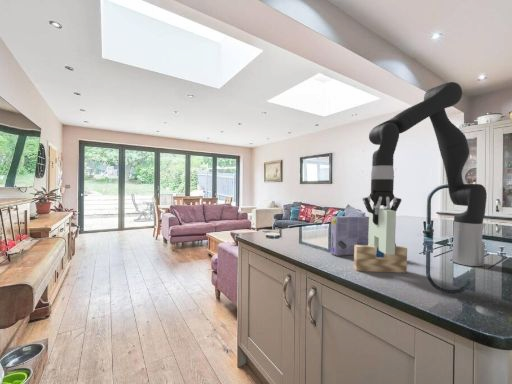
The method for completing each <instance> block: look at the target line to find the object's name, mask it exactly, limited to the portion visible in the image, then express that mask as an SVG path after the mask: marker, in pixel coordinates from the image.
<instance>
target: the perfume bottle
mask: <svg viewBox="0 0 512 384" xmlns="http://www.w3.org/2000/svg"><path fill="white" fill-rule="evenodd" d="M395 246H397V244H396V242H395ZM376 257H382V258H384V253H383V252H381V251H379V247H376Z"/></svg>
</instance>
